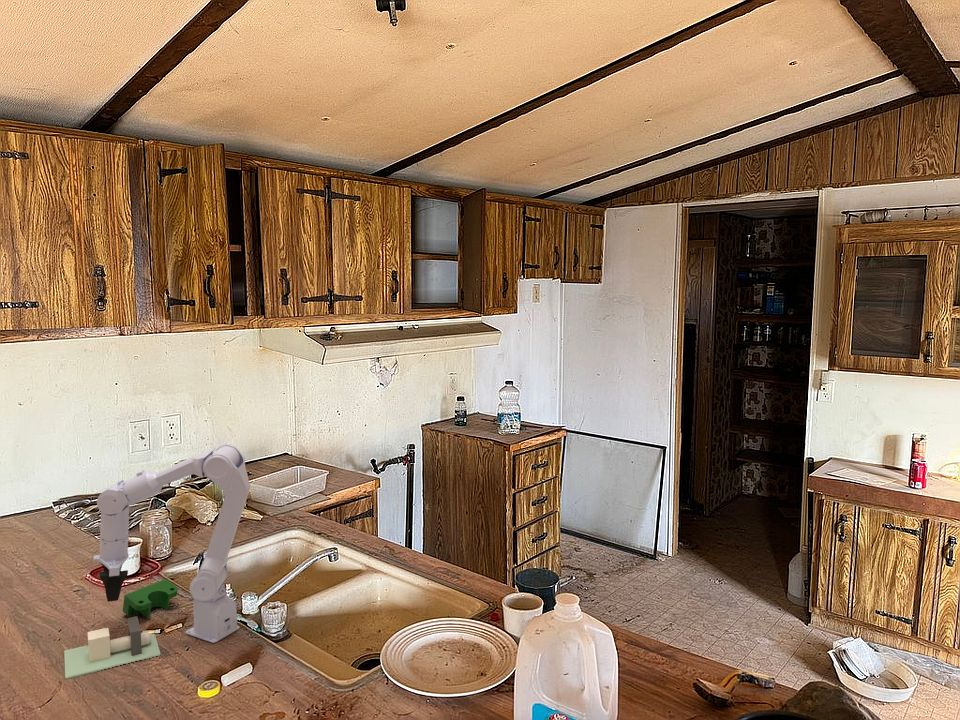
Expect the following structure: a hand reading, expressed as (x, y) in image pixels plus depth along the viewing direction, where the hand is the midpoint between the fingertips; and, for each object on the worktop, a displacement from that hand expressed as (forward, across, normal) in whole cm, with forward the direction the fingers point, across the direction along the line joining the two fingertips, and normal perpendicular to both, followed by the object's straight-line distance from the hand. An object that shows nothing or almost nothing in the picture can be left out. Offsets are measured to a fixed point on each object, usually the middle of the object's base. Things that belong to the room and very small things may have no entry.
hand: (112, 593), depth 158 cm
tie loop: (+9, +10, +4) cm, 14 cm away
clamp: (+10, -8, +9) cm, 16 cm away
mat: (+10, +10, 0) cm, 14 cm away
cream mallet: (+9, +10, +2) cm, 13 cm away
